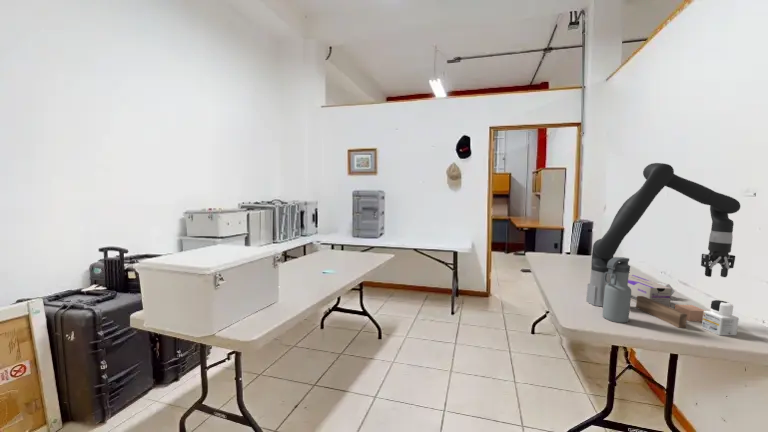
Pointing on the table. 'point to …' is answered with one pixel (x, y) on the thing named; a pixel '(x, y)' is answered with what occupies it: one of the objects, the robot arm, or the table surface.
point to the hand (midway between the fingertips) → (715, 276)
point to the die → (667, 286)
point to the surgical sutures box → (649, 290)
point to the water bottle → (617, 291)
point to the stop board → (662, 311)
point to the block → (691, 312)
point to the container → (720, 319)
